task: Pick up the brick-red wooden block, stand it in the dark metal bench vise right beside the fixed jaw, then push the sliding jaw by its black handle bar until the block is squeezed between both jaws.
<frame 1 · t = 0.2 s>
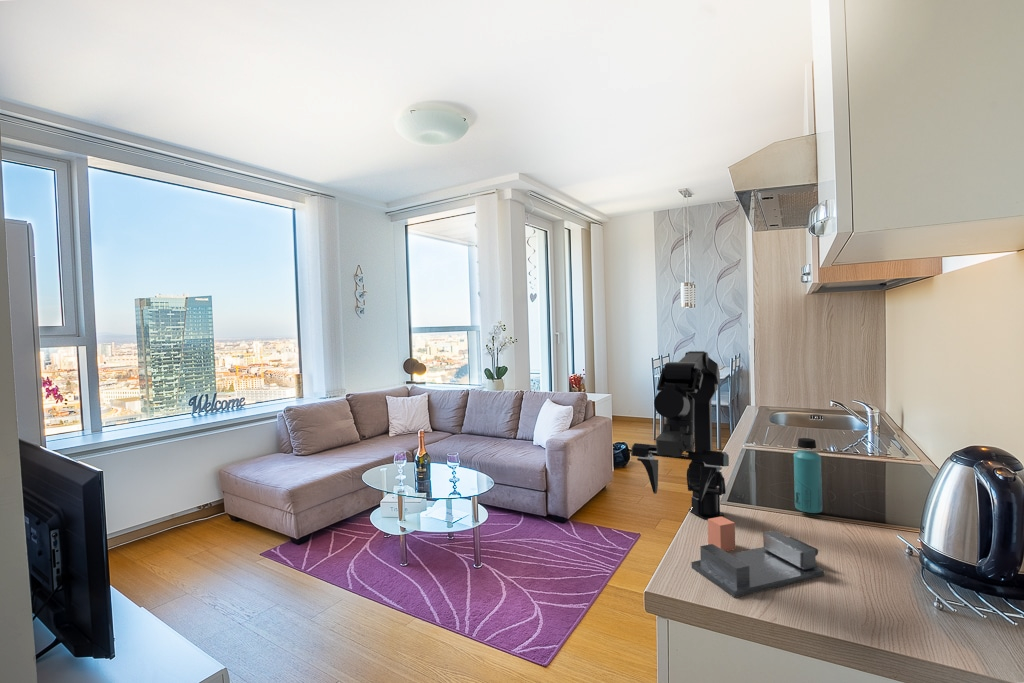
hand: (677, 497, 99), 15 cm above the worktop, tool pointing down, fingers open, 9 cm apart
sliding jaw: (793, 547, 100), point 3 cm above the worktop, slide at 0.0 cm
vise base: (756, 571, 98), on the worktop
brick-red block: (721, 546, 109), on the worktop
beverage bottle: (808, 515, 126), on the worktop
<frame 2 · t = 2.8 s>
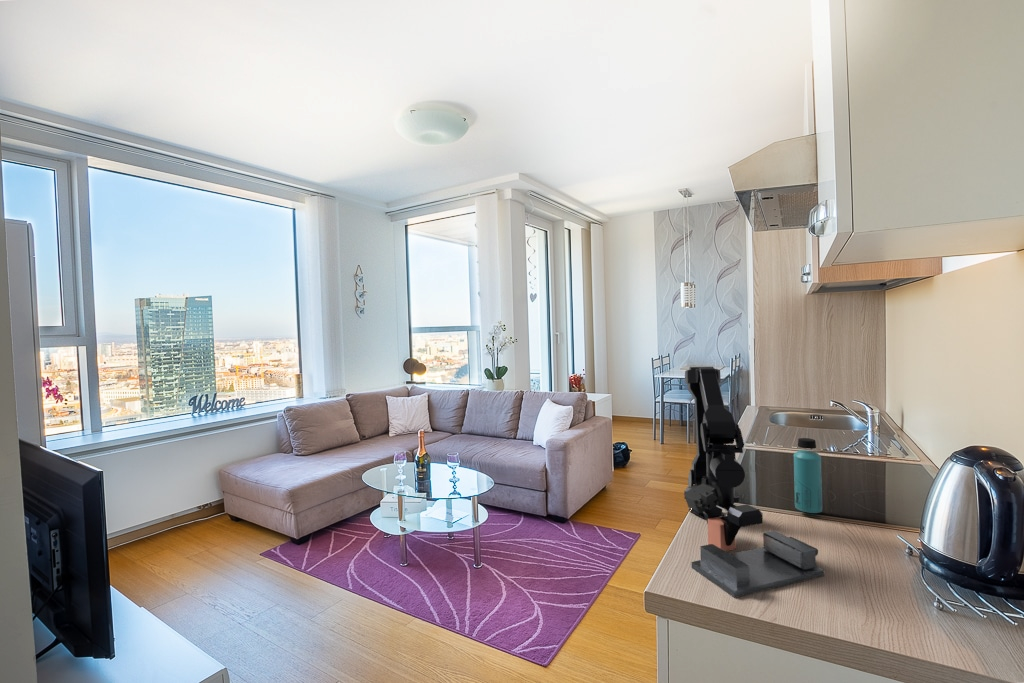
hand: (721, 541, 109), 1 cm above the worktop, tool pointing down, fingers closed on brick-red block, 4 cm apart
brick-red block: (721, 546, 109), on the worktop, touching gripper
everything else where it was.
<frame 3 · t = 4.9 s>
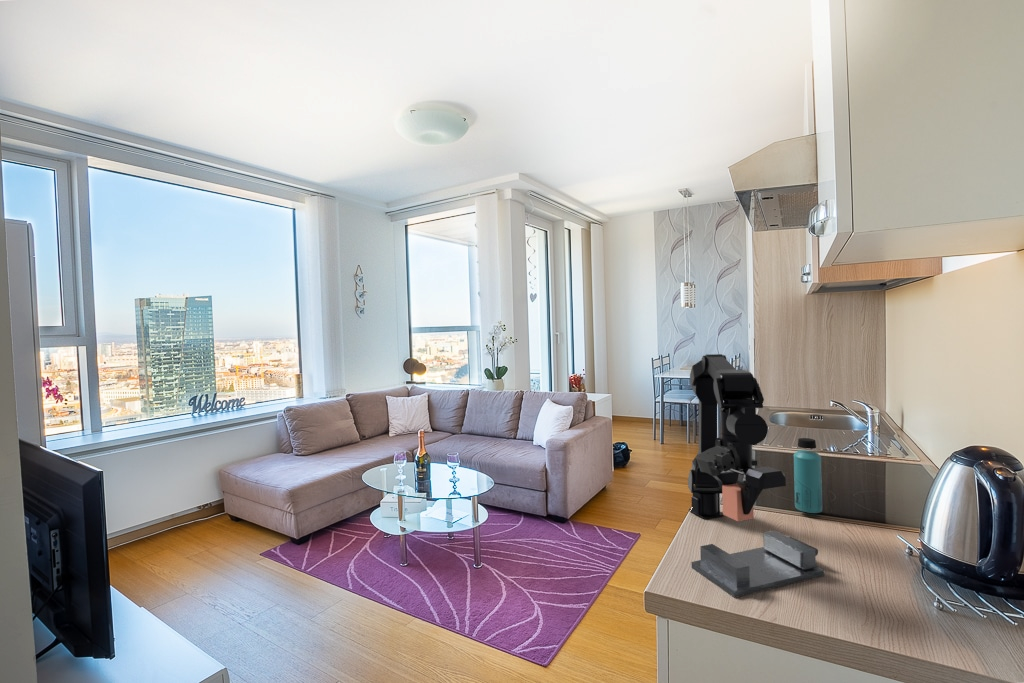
hand: (738, 510, 97), 13 cm above the worktop, tool pointing down, fingers closed on brick-red block, 4 cm apart
brick-red block: (738, 516, 97), point 11 cm above the worktop, touching gripper
everything else where it was.
when the fingers open (4 cm above the worktop, at t = 6.9 s): brick-red block drops 1 cm, resting on vise base.
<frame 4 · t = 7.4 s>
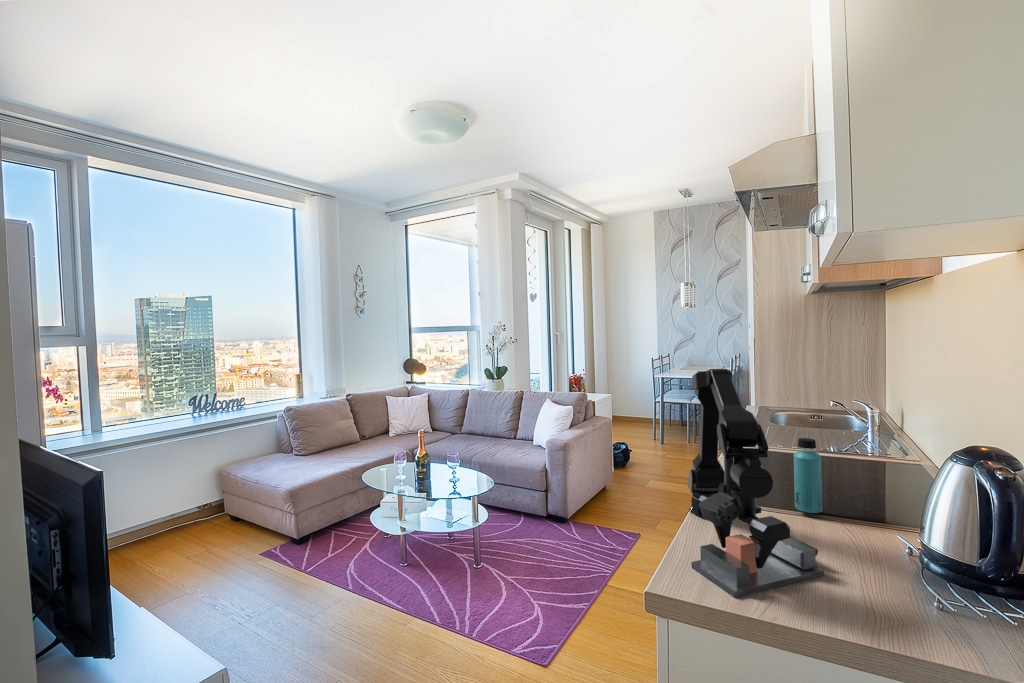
hand: (741, 557, 96), 4 cm above the worktop, tool pointing down, fingers open, 9 cm apart
brick-red block: (741, 569, 96), point 1 cm above the worktop, touching vise base
everything else where it was.
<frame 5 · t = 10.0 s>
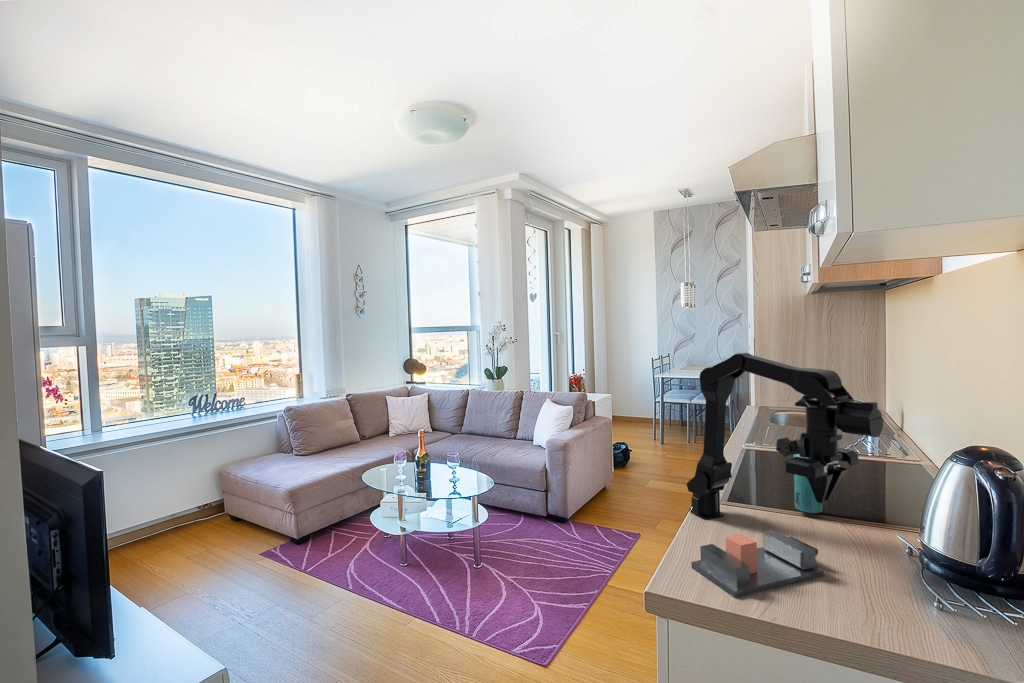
hand: (822, 501, 103), 12 cm above the worktop, tool pointing down, fingers closed
nothing on the worktop moved.
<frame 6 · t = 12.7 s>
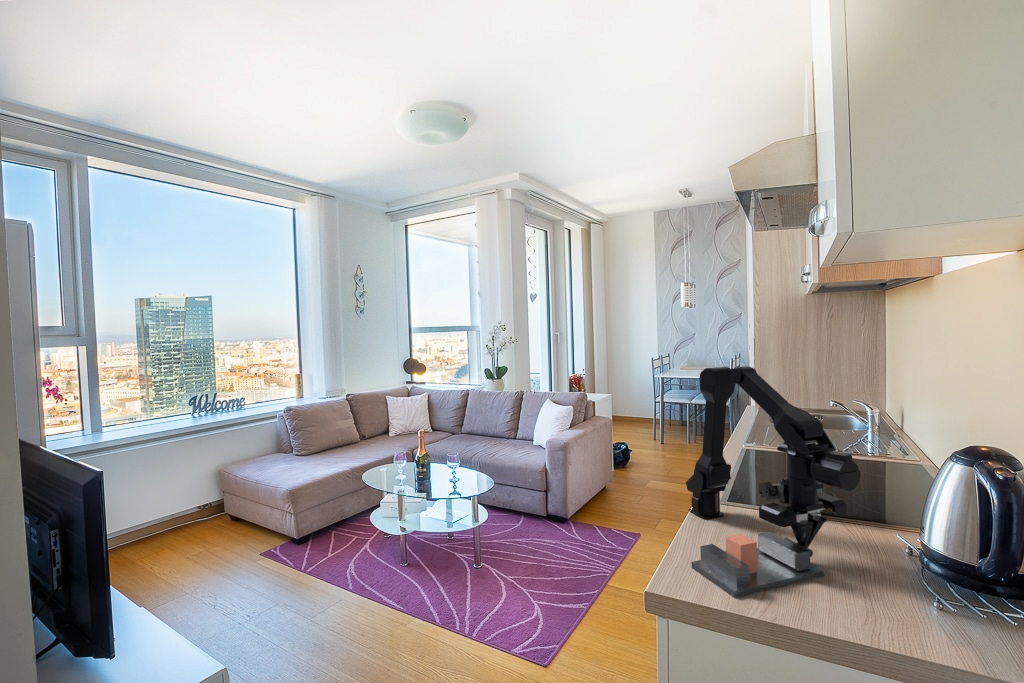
hand: (803, 549, 101), 3 cm above the worktop, tool pointing down, fingers closed
sliding jaw: (788, 549, 100), point 3 cm above the worktop, slide at 1.4 cm, touching gripper
everything else where it was.
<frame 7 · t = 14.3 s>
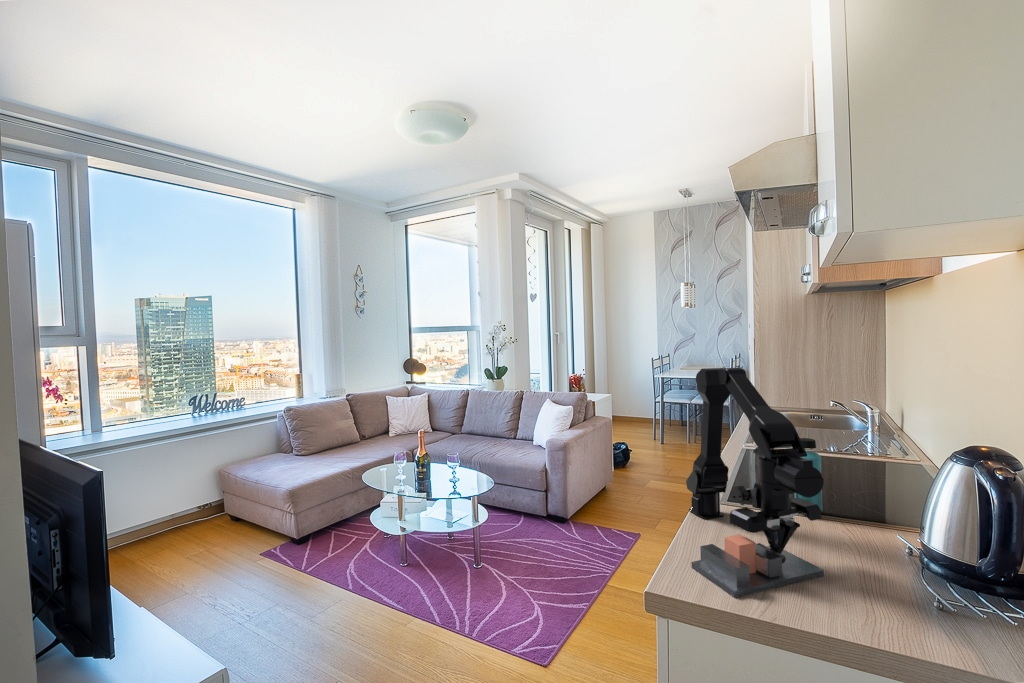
hand: (776, 555, 99), 3 cm above the worktop, tool pointing down, fingers closed
sliding jaw: (760, 554, 98), point 3 cm above the worktop, slide at 8.6 cm, touching gripper
everything else where it was.
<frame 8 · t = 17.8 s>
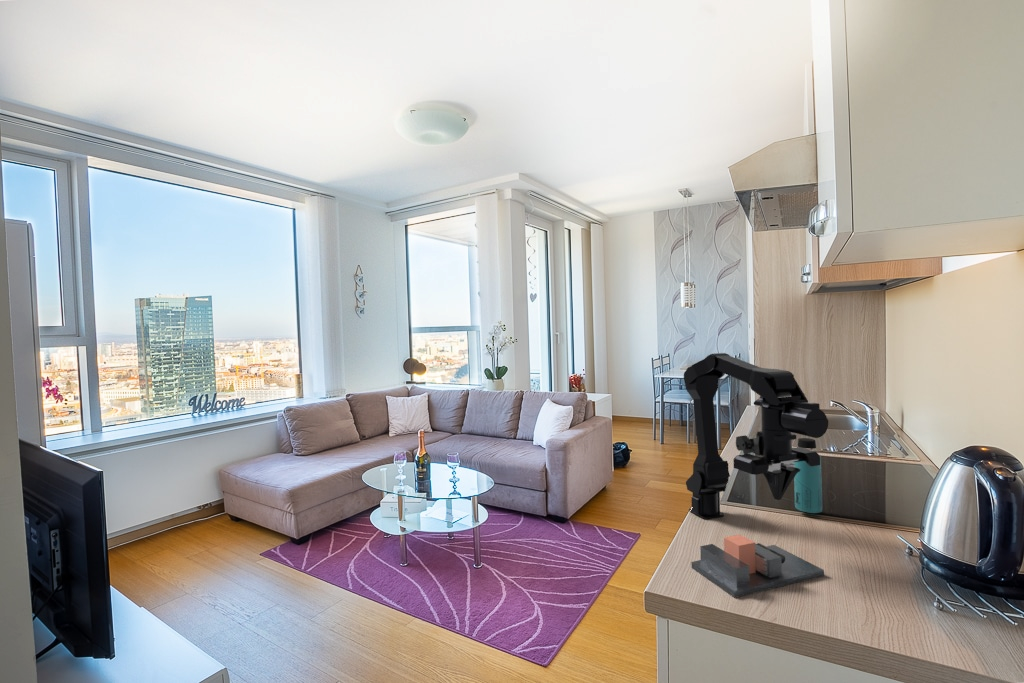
hand: (777, 499, 105), 12 cm above the worktop, tool pointing down, fingers closed
sliding jaw: (760, 555, 98), point 3 cm above the worktop, slide at 8.7 cm, touching brick-red block
brick-red block: (739, 569, 96), point 1 cm above the worktop, touching sliding jaw, vise base
everything else where it was.
at the end: sliding jaw slide at 8.7 cm; brick-red block 0.1 cm from the target spot on the vise base, point 1.2 cm above the vise base's base; brick-red block tilted 0° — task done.
